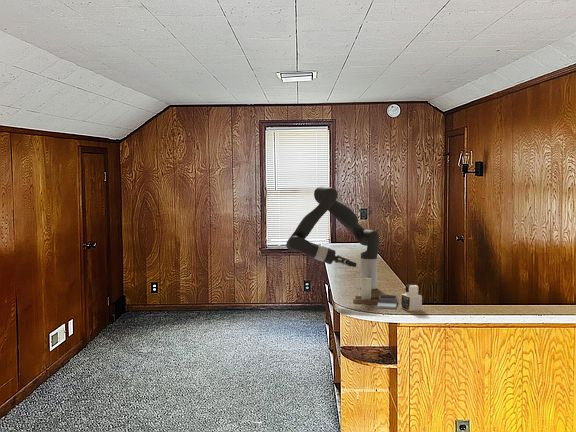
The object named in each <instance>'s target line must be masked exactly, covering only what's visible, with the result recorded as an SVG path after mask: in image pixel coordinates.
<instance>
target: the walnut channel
mask: <svg viewBox="0 0 576 432" xmlns="http://www.w3.org/2000/svg"><path fill="white" fill-rule="evenodd" d="M379 297H380V296H373V295H371V300H363V299H361V295H355V298H353V300H352V302H353V304H363V305H364V304H365V305H366V304H367V305H369V304H370V305H378V302H379Z"/></svg>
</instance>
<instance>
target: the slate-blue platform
mask: <svg viewBox="0 0 576 432" xmlns="http://www.w3.org/2000/svg"><path fill="white" fill-rule="evenodd" d="M397 304H398V303H380V302H379V301H378V302H377V304H376V308H377V309H390V310H396V309H397Z"/></svg>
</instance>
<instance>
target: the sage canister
mask: <svg viewBox="0 0 576 432" xmlns="http://www.w3.org/2000/svg"><path fill="white" fill-rule="evenodd" d="M360 289H361V291H360V293H361V295H360V296H361V299H363V300H371V296H372V290H371V278H362V283H361V288H360Z"/></svg>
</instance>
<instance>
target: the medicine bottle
mask: <svg viewBox="0 0 576 432" xmlns="http://www.w3.org/2000/svg"><path fill="white" fill-rule="evenodd" d="M422 304H423V296H422V295H421V294H419V285H417V284H416V283H415V284H414V283H413V284H411V283H410V284H409V283H408V284H406V285H405V293H401V309H403V310H404V311H407V312H415V311H416V312H417V311H422V310H423V305H422Z"/></svg>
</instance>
